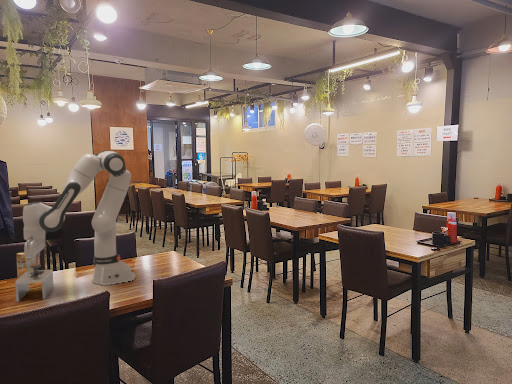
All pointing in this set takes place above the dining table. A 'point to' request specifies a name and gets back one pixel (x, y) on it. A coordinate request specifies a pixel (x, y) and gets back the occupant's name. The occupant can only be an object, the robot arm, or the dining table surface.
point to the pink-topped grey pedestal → (36, 267)
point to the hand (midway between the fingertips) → (35, 261)
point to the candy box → (23, 264)
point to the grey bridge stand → (25, 279)
